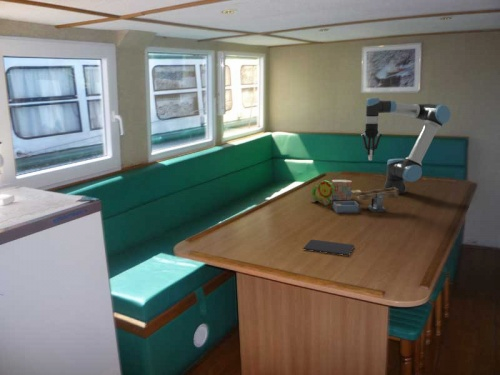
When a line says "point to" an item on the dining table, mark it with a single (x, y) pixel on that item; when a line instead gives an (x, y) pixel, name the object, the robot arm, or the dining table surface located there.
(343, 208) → the tray
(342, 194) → the stack of blocks
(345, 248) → the notebook
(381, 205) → the fulcrum
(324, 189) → the toy lion
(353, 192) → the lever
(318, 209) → the dining table surface
